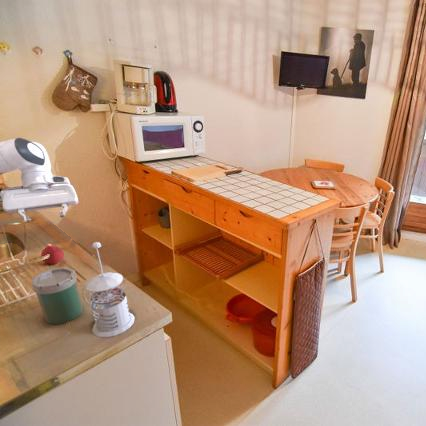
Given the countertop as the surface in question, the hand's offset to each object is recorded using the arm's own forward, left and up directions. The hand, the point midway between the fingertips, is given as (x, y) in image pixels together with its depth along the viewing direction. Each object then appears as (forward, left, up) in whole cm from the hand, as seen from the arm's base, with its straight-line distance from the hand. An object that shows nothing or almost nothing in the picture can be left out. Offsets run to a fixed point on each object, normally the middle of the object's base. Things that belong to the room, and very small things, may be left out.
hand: (45, 219), depth 111 cm
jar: (+11, -39, -13) cm, 43 cm away
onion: (+2, -10, -13) cm, 17 cm away
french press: (+23, -47, -13) cm, 54 cm away
